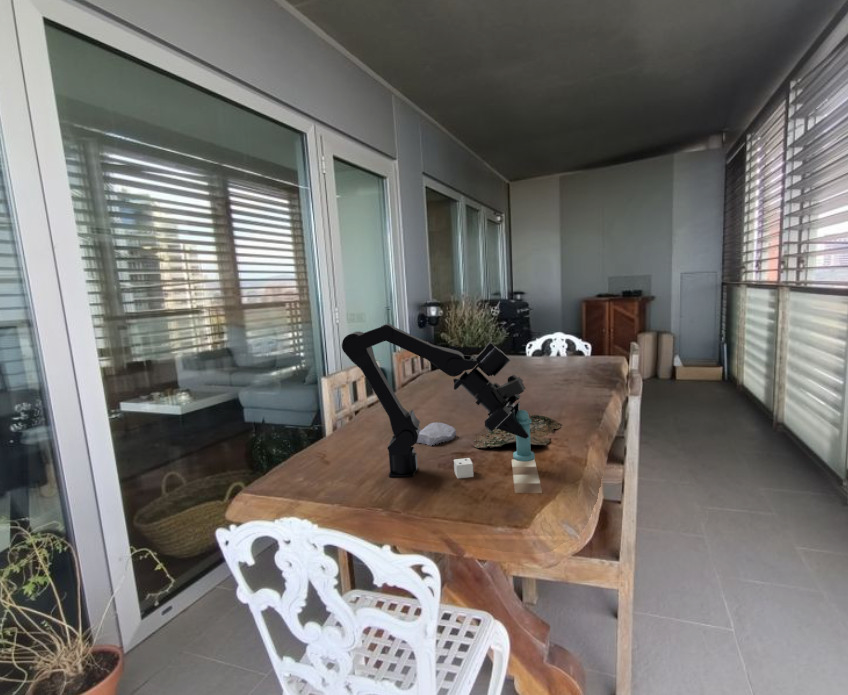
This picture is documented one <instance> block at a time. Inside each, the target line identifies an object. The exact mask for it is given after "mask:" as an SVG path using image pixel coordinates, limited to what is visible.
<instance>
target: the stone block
mask: <svg viewBox="0 0 848 695" xmlns="http://www.w3.org/2000/svg"><path fill="white" fill-rule="evenodd" d="M456 436H457V432H456V429H455V428H454V427H453V426H451V425H449V424H447V423H443V422H431V423H429V424H427V425H425V427H424V428H423V429H420V432H419V436H418V439H417V442H416V443H415V444H419V443H422V444H421V445H425V444H427V445H426V446H428V445H430V447H432V445H433V446H436V445H439V443H440V444H442V443H441V442H443V443H446V442H449V441H453V440H454V439H455V437H456ZM445 441H446V442H445ZM435 444H436V445H435Z"/></svg>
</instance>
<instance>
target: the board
mask: <svg viewBox="0 0 848 695" xmlns="http://www.w3.org/2000/svg"><path fill="white" fill-rule="evenodd" d="M535 459H536V458H535ZM535 459H534V460H532V461H527V462H522V461H517V460H515V459H514V458H513V459H511V467H512V468H511V469H512V478H513V486H514V488H513V489H514V494H543V489H542V486H541V485H542V484H541V481H540V475H539V472H538V471H539V470H538V467H537V463H536V460H535Z"/></svg>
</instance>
